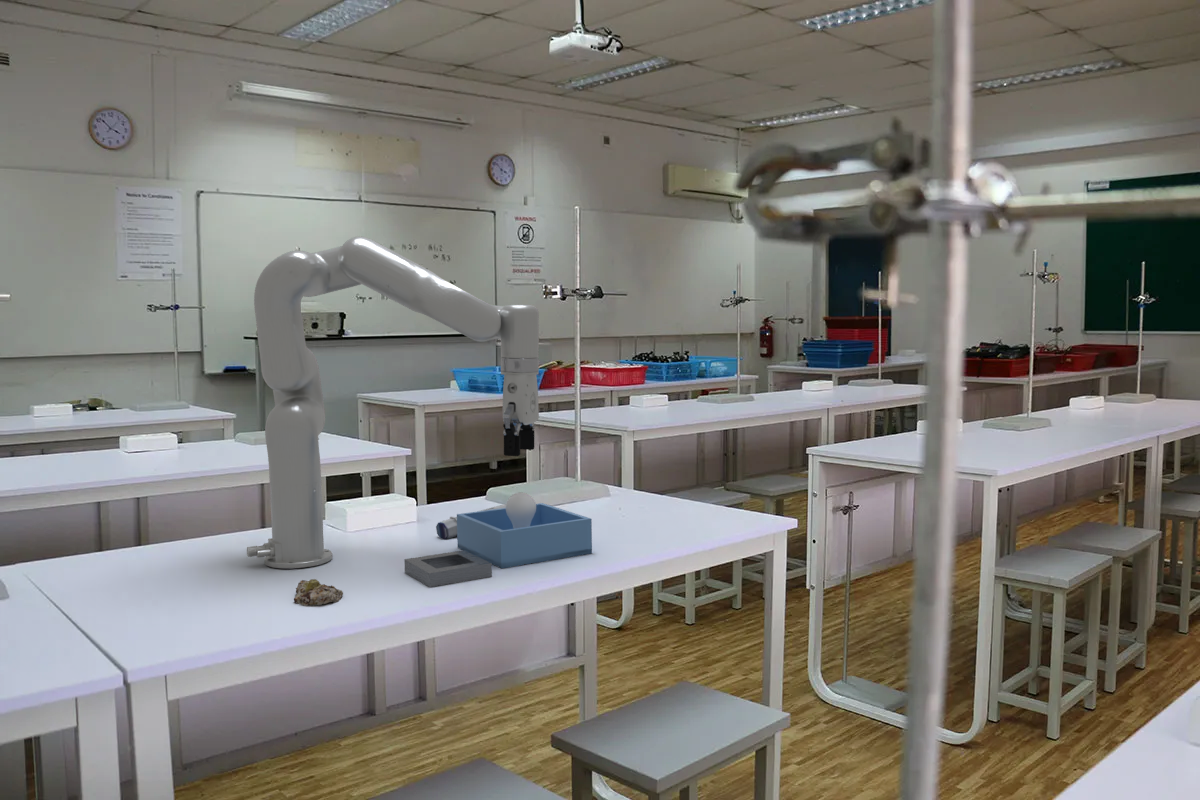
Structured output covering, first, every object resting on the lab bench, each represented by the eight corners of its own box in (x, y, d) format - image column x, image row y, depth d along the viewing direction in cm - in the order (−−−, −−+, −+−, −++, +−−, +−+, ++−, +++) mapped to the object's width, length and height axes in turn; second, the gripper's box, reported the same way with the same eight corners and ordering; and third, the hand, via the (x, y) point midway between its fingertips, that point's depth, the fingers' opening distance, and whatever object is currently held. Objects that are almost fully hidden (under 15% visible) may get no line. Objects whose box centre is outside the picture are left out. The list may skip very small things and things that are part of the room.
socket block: (429, 587, 167) (429, 573, 167) (404, 572, 177) (404, 559, 177) (491, 576, 173) (491, 563, 173) (464, 562, 183) (463, 550, 183)
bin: (501, 568, 179) (500, 531, 178) (457, 547, 195) (456, 514, 195) (592, 553, 189) (591, 518, 189) (542, 534, 206) (542, 503, 206)
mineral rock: (355, 587, 160) (310, 583, 155) (349, 613, 160) (304, 610, 154) (328, 576, 168) (284, 572, 163) (323, 601, 168) (279, 598, 163)
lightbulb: (540, 548, 190) (538, 494, 188) (509, 551, 188) (508, 496, 187) (533, 541, 195) (532, 488, 194) (504, 544, 194) (502, 490, 193)
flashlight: (433, 520, 206) (524, 489, 222) (437, 549, 207) (528, 516, 223) (446, 523, 202) (538, 492, 218) (450, 553, 203) (542, 520, 219)
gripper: (525, 369, 180) (524, 459, 181) (549, 365, 197) (549, 447, 198) (487, 368, 182) (487, 457, 183) (514, 364, 199) (514, 446, 200)
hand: (519, 452), depth 191 cm, fingers open, 9 cm apart
